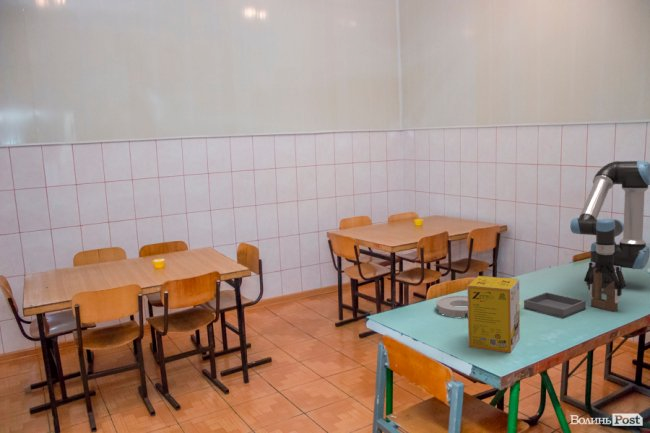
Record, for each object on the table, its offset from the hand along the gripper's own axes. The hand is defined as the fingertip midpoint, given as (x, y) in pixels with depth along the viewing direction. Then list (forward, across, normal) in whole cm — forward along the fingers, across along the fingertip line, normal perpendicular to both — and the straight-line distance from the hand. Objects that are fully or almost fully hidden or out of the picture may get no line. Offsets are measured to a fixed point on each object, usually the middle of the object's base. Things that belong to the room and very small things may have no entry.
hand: (604, 299), depth 253 cm
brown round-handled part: (+4, 0, 0) cm, 4 cm away
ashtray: (+5, -44, -47) cm, 65 cm away
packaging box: (+4, -8, -69) cm, 70 cm away
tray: (+4, -15, -16) cm, 22 cm away
